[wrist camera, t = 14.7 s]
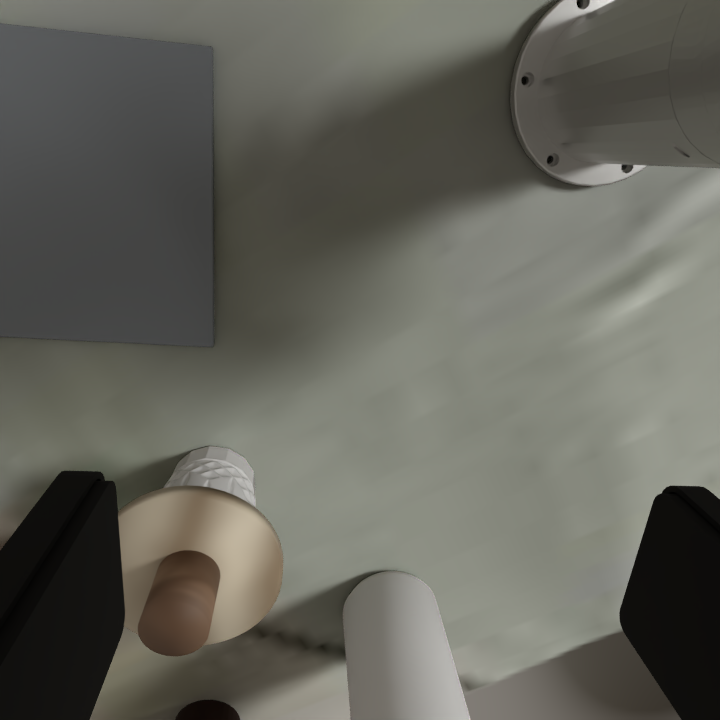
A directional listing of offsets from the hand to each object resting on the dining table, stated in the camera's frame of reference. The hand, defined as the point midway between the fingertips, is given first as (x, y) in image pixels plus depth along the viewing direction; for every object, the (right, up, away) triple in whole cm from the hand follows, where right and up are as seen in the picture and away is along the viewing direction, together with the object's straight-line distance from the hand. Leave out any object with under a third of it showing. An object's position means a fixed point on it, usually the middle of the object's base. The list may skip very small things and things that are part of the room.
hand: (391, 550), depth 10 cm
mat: (-21, +14, +28) cm, 38 cm away
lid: (-12, -10, +28) cm, 32 cm away
